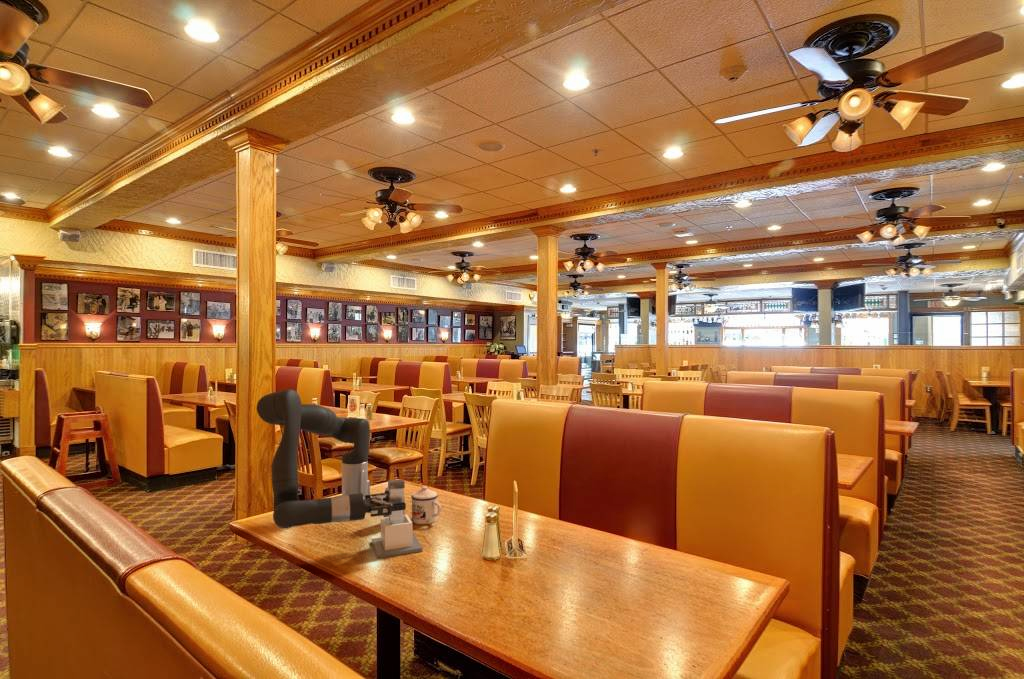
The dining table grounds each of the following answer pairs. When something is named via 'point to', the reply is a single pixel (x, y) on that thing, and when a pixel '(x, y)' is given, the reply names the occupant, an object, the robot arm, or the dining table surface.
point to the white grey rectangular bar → (396, 500)
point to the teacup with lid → (425, 506)
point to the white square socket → (396, 539)
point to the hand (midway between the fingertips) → (402, 501)
